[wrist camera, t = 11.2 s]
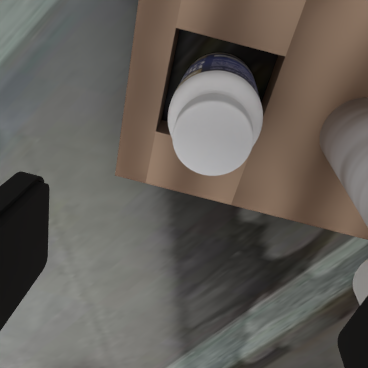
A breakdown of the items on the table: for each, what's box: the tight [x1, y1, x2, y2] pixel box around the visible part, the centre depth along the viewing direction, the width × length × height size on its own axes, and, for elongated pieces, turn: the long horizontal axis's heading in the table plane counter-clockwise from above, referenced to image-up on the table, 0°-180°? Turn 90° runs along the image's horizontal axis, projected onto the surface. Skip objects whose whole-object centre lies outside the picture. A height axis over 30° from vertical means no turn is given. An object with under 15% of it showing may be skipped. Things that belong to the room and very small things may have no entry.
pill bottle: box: [168, 53, 263, 176], centre depth 20 cm, size 5×5×10 cm
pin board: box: [115, 0, 368, 240], centre depth 19 cm, size 22×16×12 cm
